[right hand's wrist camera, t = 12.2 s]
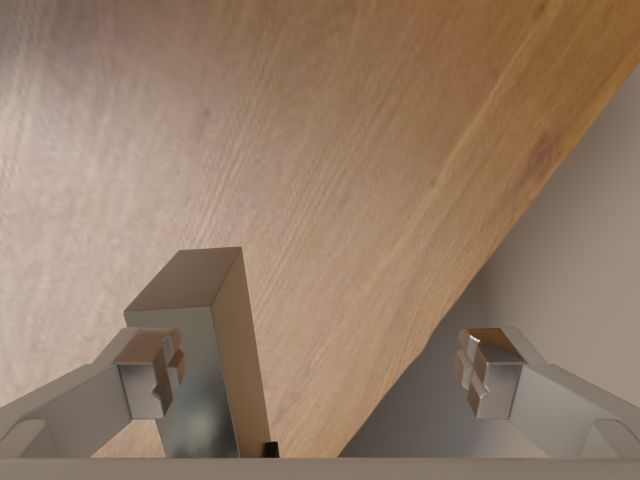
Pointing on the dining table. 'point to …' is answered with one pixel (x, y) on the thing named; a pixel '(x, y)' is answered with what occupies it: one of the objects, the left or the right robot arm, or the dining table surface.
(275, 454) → the left robot arm
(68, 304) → the dining table surface
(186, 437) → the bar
